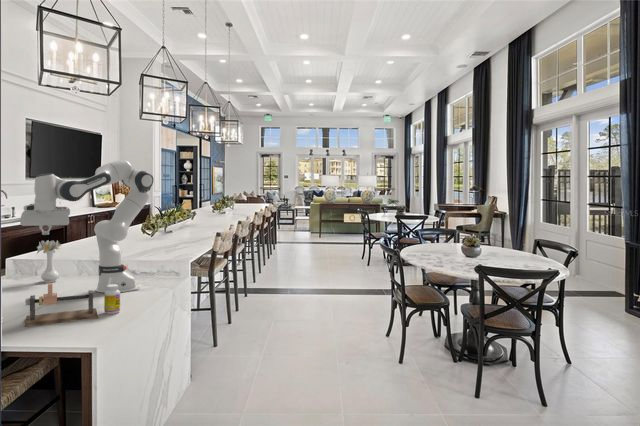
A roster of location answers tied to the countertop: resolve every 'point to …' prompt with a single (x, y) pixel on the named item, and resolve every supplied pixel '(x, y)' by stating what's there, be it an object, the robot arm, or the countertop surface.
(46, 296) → the peach stepped block
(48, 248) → the flower vase
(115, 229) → the robot arm
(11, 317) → the countertop surface
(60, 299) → the dark gray rod
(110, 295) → the supplement bottle
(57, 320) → the towel rod holder
